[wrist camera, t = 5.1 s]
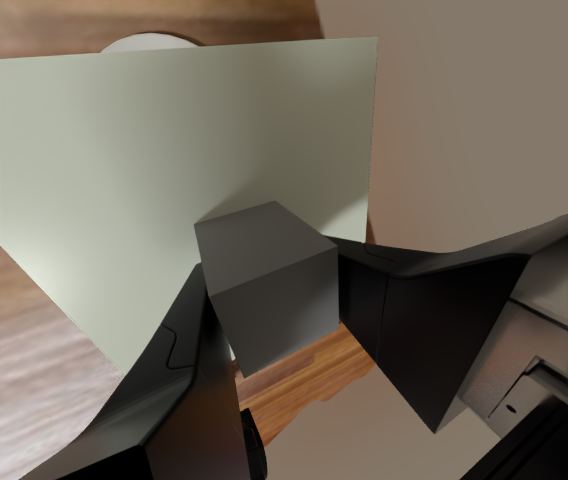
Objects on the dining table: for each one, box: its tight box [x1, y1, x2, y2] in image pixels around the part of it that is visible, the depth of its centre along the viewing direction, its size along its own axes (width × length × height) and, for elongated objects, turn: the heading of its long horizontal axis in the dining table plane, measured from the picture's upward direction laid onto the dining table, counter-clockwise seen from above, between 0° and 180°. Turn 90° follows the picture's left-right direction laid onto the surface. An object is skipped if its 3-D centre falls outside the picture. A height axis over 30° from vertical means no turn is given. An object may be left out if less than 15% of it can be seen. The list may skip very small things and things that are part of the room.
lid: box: [0, 36, 378, 378], centre depth 8 cm, size 14×14×5 cm
